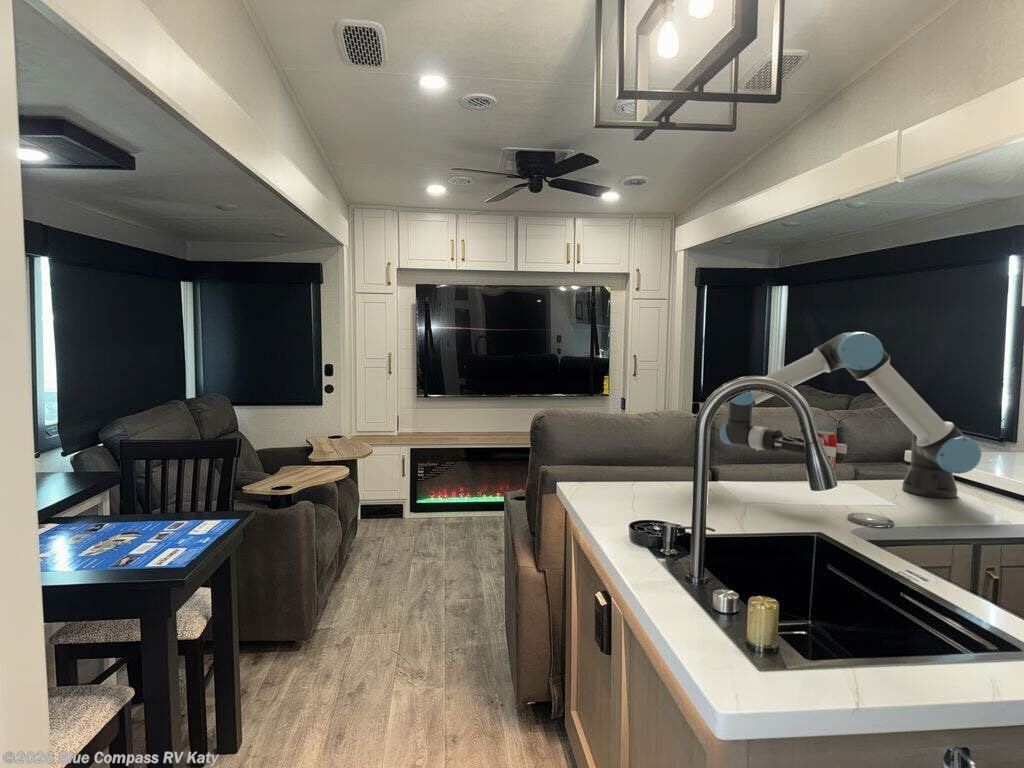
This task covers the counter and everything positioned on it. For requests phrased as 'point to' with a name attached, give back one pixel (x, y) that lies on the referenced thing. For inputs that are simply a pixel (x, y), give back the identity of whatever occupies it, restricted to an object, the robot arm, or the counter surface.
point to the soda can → (828, 443)
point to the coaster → (870, 519)
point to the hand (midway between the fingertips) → (840, 450)
